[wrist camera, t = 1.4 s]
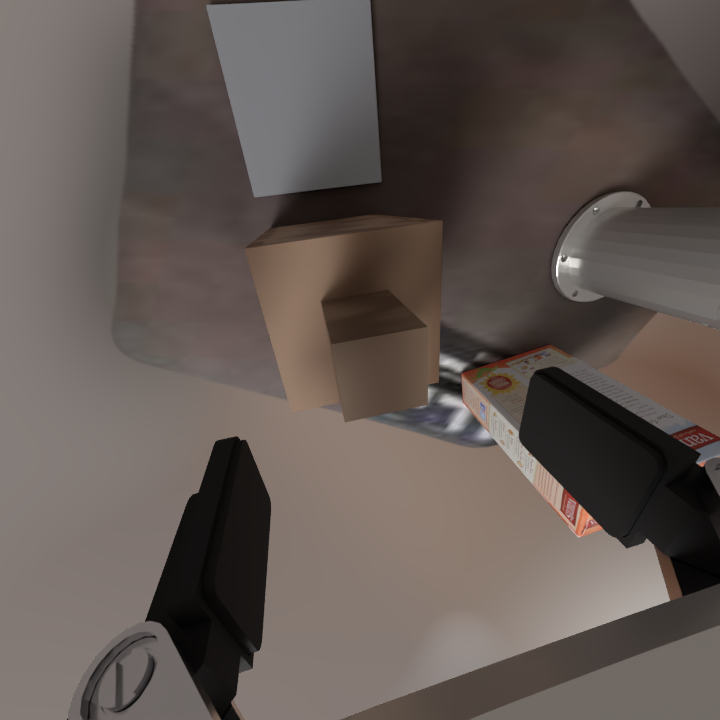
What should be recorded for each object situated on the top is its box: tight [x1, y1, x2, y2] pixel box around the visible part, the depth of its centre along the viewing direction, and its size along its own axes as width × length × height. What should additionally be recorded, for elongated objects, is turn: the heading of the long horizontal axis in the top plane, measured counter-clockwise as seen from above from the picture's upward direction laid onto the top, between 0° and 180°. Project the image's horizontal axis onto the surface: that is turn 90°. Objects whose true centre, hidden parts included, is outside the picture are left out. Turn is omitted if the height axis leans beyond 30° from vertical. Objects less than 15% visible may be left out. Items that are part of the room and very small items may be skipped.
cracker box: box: [461, 345, 720, 537], centre depth 34 cm, size 14×6×21 cm, turn 103°
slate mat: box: [206, 0, 382, 197], centre depth 24 cm, size 12×12×1 cm
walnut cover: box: [245, 214, 443, 422], centre depth 22 cm, size 11×11×22 cm
